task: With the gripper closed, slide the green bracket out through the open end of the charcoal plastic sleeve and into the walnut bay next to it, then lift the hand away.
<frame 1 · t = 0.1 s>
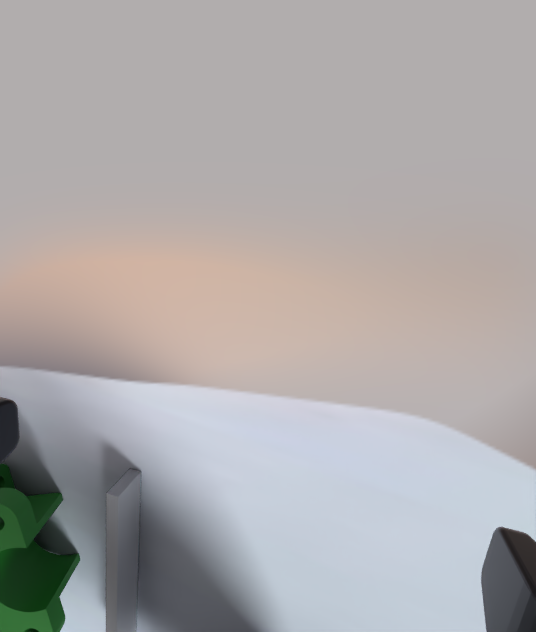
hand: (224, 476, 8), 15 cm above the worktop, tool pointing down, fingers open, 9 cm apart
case: (42, 525, 31), on the worktop
green bracket: (45, 521, 31), on the worktop
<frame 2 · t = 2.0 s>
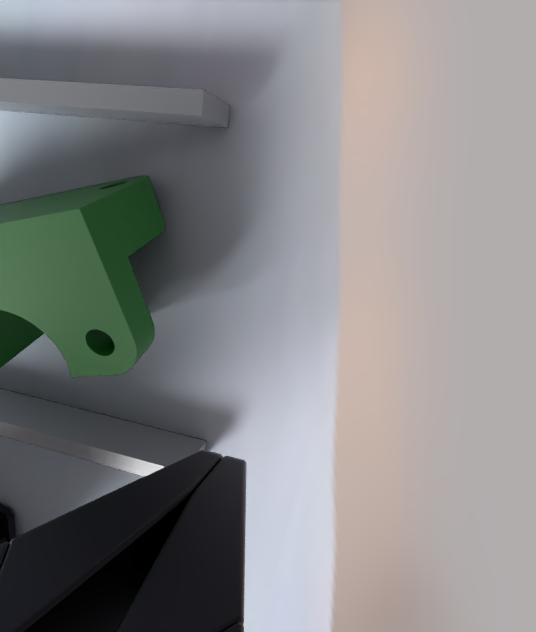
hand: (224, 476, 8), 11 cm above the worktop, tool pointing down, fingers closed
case: (77, 277, 20), on the worktop
green bracket: (81, 271, 20), on the worktop
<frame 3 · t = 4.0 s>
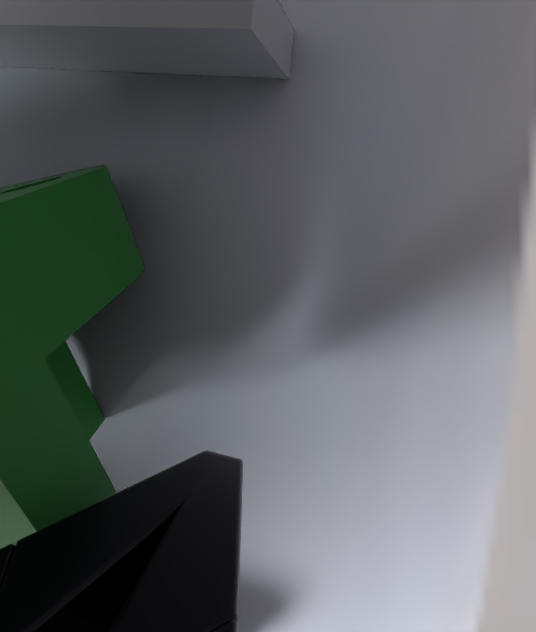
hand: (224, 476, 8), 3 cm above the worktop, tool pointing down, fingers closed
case: (8, 355, 12), on the worktop
green bracket: (1, 336, 12), on the worktop, touching gripper
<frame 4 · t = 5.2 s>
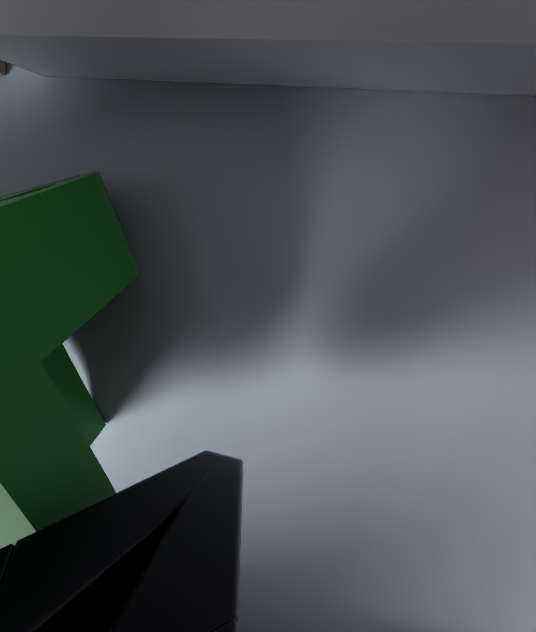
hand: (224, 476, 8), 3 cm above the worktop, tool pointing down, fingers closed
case: (322, 427, 10), on the worktop
green bracket: (1, 346, 12), on the worktop, touching gripper
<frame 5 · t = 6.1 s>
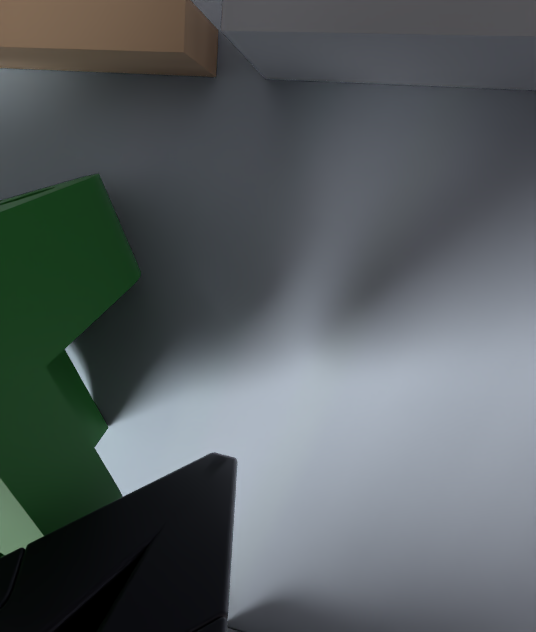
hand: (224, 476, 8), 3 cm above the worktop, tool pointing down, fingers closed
green bracket: (1, 350, 12), on the worktop, touching bay, gripper
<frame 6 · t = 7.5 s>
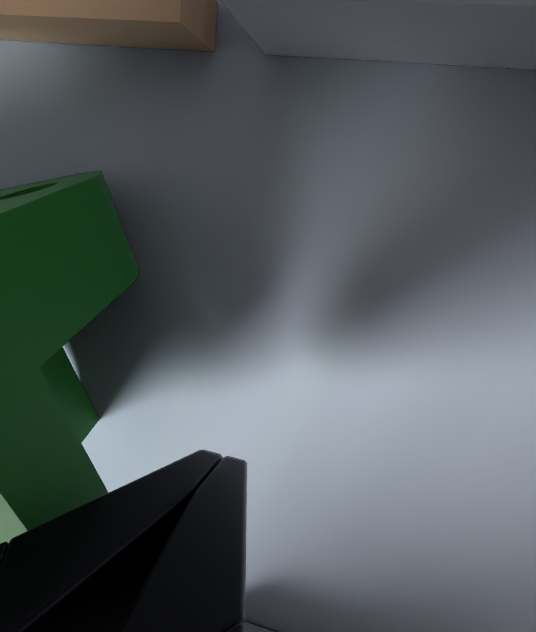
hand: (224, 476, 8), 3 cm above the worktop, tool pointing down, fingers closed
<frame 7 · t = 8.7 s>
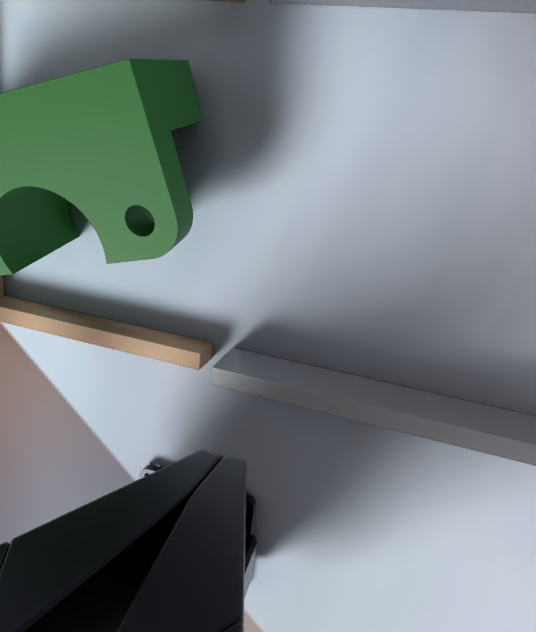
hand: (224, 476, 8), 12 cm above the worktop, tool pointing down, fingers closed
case: (419, 219, 17), on the worktop
green bracket: (110, 177, 20), on the worktop
bay: (95, 173, 20), on the worktop
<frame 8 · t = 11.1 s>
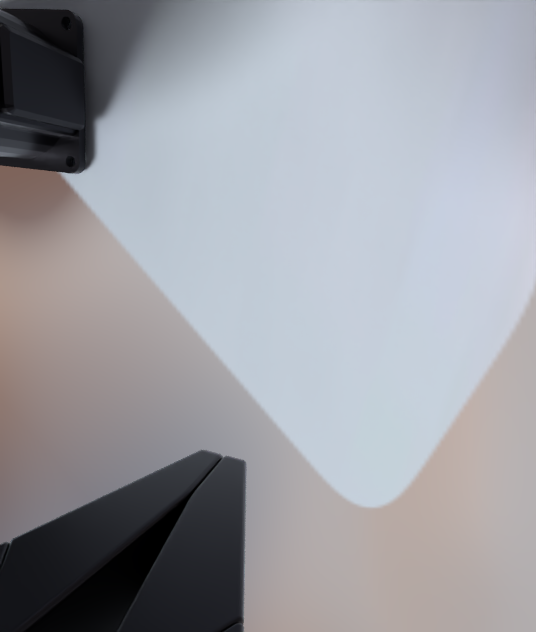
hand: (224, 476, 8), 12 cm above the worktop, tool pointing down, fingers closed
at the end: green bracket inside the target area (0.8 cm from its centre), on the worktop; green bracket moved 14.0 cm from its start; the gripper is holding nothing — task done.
